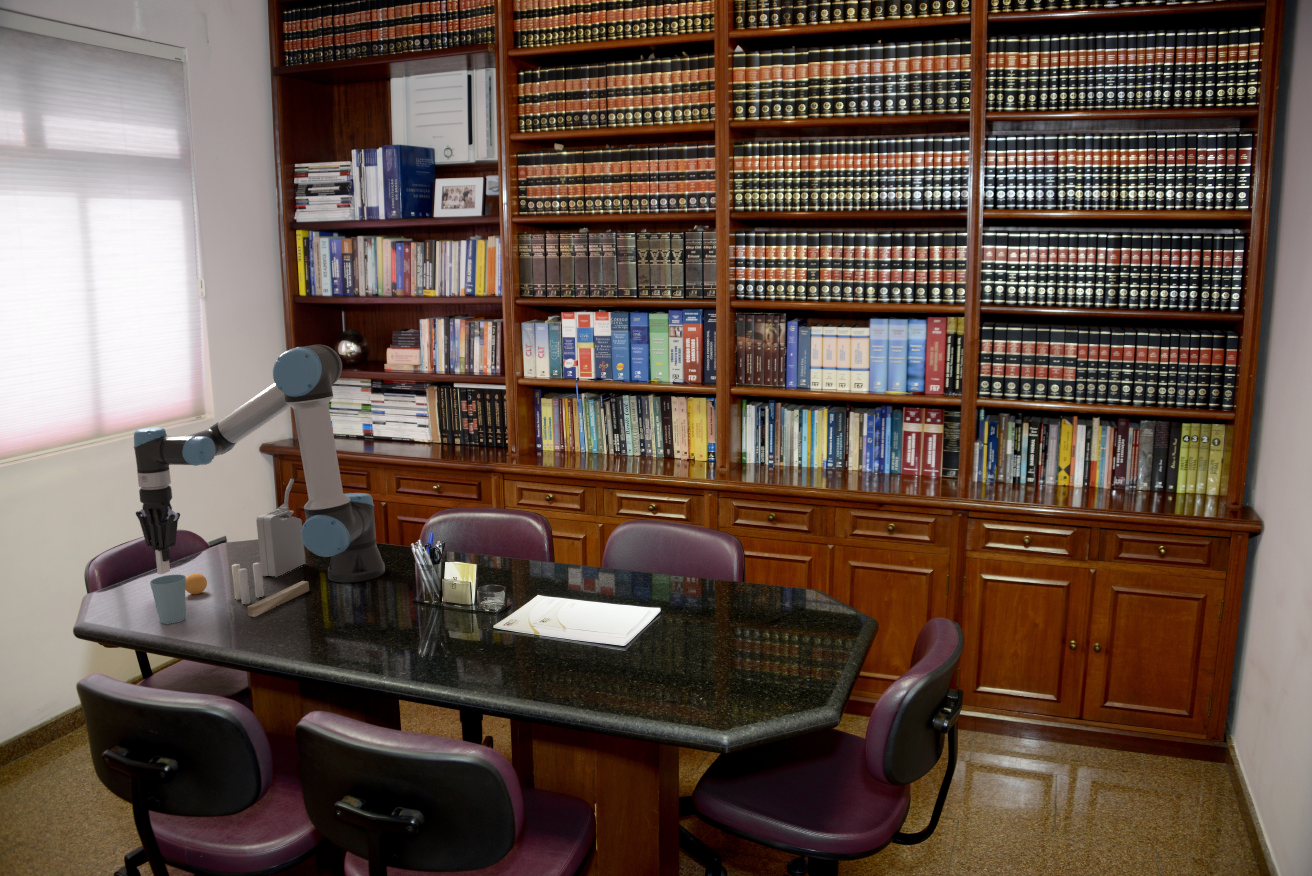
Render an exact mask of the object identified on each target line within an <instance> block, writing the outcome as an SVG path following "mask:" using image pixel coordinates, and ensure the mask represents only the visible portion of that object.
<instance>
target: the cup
mask: <svg viewBox="0 0 1312 876" xmlns="http://www.w3.org/2000/svg"><path fill="white" fill-rule="evenodd" d="M186 578H187V577H186V576H185V575H184V574H168V575H162V576H158V577H156V578H153V579H151V580H150V582H149V584H150V588H151V591H152V595H153V598H154V603H155V607H156V611H157V616H158V619H159V623H160V624H162V623H163V624H164V625H172V624H177V623H180V622H182V621H184V620H185V619H186V590H185V585H186ZM176 622H177V623H176ZM171 623H172V624H171ZM163 624H162V625H163Z"/></svg>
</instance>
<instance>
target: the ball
mask: <svg viewBox="0 0 1312 876" xmlns="http://www.w3.org/2000/svg"><path fill="white" fill-rule="evenodd" d="M207 586H208V580H207V578H206V577H205V576H204V575H203V574H201V573H198V572H197V573H196V572H195V573H192V574H191V573H190V574H189V575H188V576H187V577H186V585H185V592H186V593H189V594H191V595H199V594H201V593H203V592H204V591H206V590H205V589H207Z"/></svg>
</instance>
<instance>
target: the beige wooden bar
mask: <svg viewBox="0 0 1312 876" xmlns="http://www.w3.org/2000/svg"><path fill="white" fill-rule="evenodd" d="M309 584H310V583H309V581H307V580H306V581H305V580H301V581H300V582H297V583H295V584H293V585H291V586H288V587H287V588H284V589H282V590H280V591H278V592H276V593H274V594H271V595H269V596H266V597H265V598H263V599H260V600H258V601H256V602H254V603H252V604H250V605H247V616H248V617H253V618H255V617H258V616H260V615H262V614H264V613H266V612H268V611H271V610H273V609H274V608H277V607H279V606H280V604H281V605H284V604H285V603H287V602H289V601H290V600H293V599H295V598H297V597H299V596H301V595H303V594H305V593H307V592H309V591H310V585H309ZM276 606H277V607H276Z"/></svg>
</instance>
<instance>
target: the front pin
mask: <svg viewBox="0 0 1312 876" xmlns="http://www.w3.org/2000/svg"><path fill="white" fill-rule="evenodd" d="M239 569H241V564H240V563H234V564H232V565H231V573H232V574H231V575H232V582H233V593H234V600H235V599H236V600H237V601H239V600H241V591H240V581H239V571H238V570H239Z"/></svg>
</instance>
